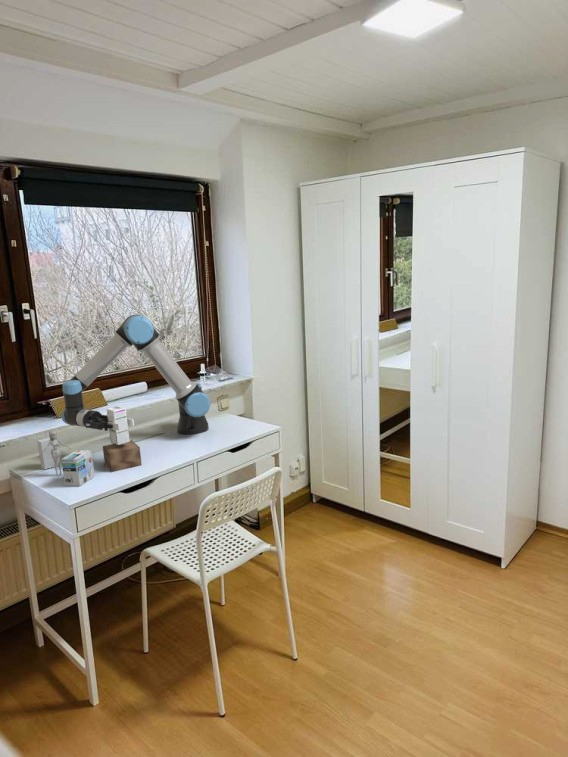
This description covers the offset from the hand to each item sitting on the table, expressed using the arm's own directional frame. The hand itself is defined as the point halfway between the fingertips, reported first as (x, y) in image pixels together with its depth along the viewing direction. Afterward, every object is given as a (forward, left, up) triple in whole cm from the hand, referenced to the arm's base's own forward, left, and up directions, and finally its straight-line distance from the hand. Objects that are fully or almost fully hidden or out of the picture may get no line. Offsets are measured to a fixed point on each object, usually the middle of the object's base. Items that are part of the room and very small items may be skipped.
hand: (126, 424), depth 225 cm
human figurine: (+23, -16, -18) cm, 33 cm away
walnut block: (+1, -5, -18) cm, 18 cm away
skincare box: (+21, -29, -18) cm, 40 cm away
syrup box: (+1, -5, -8) cm, 10 cm away
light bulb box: (+21, -2, -18) cm, 27 cm away
